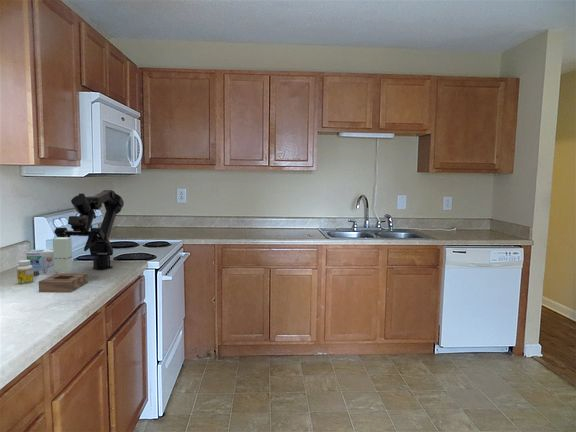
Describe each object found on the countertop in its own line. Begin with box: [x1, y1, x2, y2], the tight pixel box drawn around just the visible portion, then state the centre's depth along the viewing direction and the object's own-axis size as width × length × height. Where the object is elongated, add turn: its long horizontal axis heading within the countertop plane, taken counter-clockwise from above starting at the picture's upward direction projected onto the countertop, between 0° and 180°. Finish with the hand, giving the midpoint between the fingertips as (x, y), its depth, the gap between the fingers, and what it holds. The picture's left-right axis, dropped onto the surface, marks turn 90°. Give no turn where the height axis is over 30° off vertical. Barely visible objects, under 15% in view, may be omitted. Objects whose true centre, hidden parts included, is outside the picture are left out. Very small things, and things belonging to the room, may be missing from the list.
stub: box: [52, 236, 74, 272], centre depth 158 cm, size 4×5×12 cm
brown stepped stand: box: [38, 272, 89, 293], centre depth 159 cm, size 20×16×5 cm
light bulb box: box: [26, 248, 59, 277], centre depth 180 cm, size 11×7×11 cm, turn 105°
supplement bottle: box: [16, 259, 34, 285], centre depth 165 cm, size 5×5×10 cm
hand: (73, 250), depth 166 cm, fingers open, 9 cm apart
